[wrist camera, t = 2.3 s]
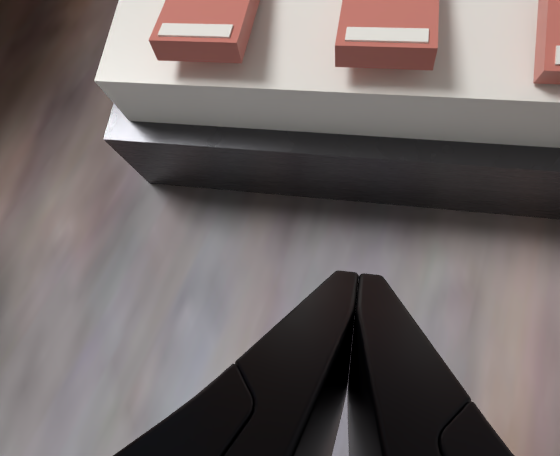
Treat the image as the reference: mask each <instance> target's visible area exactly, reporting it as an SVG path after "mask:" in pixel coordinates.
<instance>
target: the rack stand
mask: <svg viewBox="0 0 560 456" xmlns="http://www.w3.org/2000/svg"><path fill="white" fill-rule="evenodd" d="M104 140H105V141H106V142H107V143H108V144H109V145H110V146H111V147H112V148H113V149H114V150H115V151H116V152H117V153H118V154H119V155H120V156H122V157H123V158H124V159H125V160H126V161H127V162H128V163H129V164H130V165H131V166H132V167H133V168H134V169H135V170H136V171H137V172H138V173H139V174H140V175H141V176H143V177H144V178H145V179H146V180H147V181H148V182H149V183H157V184H168V185H179V186H191V187H202V188H213V189H225V190H236V191H247V192H258V193H270V194H281V195H292V196H303V197H315V198H326V199H337V200H348V201H360V202H371V203H382V204H393V205H405V206H416V207H427V208H439V209H450V210H461V211H472V212H484V213H495V214H506V215H517V216H529V217H540V218H551V219H560V148H553V147H537V146H521V145H505V144H489V143H473V142H458V141H442V140H426V139H410V138H394V137H378V136H362V135H346V134H330V133H314V132H299V131H283V130H267V129H251V128H235V127H219V126H203V125H187V124H171V123H156V122H140V121H129V120H128V119H127V118H126V117H125V116H124V114H123V113H122V112H121V111H120V110H119V109H118V108H117V106H116V105H115V104H113V107H112V111H111V114H110V118H109V121H108V125H107V128H106V132H105V135H104Z"/></svg>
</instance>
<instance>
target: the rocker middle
mask: <svg viewBox="0 0 560 456" xmlns="http://www.w3.org/2000/svg"><path fill="white" fill-rule="evenodd" d="M438 25H439V0H342V6H341V12H340V18H339V24H338V30H337V36H336V42H335V67H351V68H378V69H406V70H433V67H434V63H435V58H436V54H437V50H438Z"/></svg>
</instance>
